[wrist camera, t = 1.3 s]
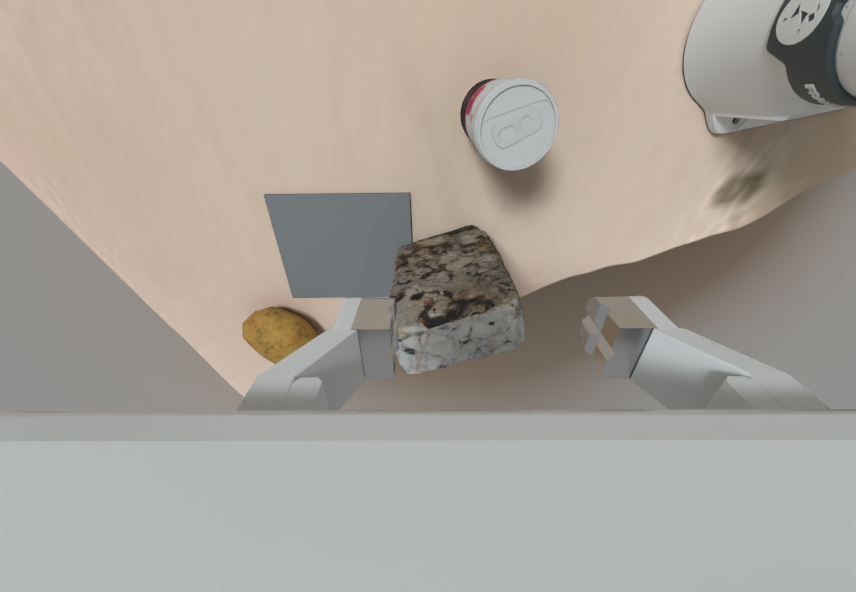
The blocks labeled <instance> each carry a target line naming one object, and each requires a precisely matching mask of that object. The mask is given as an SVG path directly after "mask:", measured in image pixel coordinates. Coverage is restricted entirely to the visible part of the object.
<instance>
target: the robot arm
mask: <svg viewBox="0 0 856 592" xmlns="http://www.w3.org/2000/svg"><path fill="white" fill-rule="evenodd" d="M684 76H685V81H686V85H687V87H688V90H689V92H690V93H691V95H692V97H693V98H694V99H695V100H696V101H697V102H698V103H699V104H700V105H701V107H702V108H703V109H704V111H705V115H706V120H707V125H708V128H709V130H710V131H711V132H712V133H714V134H724V133H729V132H734V131H739V130H743V129H748V128H753V127H758V126H762V125H767V124H772V123H777V122H782V121H786V120H791V119H796V118H801V117H805V116H810V115H815V114H820V113H824V112H829V111H834V110H839V109H843V108H848V107H856V0H704V2H703V4H702V5H701V7H700V9H699V11H698V13H697V15H696V17H695V19H694V22H693V24H692V27H691V29H690V32H689V36H688V39H687V43H686V47H685V54H684ZM734 118H736V119H735V121H734V122H733V123H732V121H733V119H734ZM585 310H586V312H587V313H588V316H586V317H585V318H584V319H583V320H582V321H581V324H580V328H579V339H580V343H581V345H582V347H583V349H584V351H586V352H587V353H589V354H591V355H592V359H591V363H592V365H593V366H594V368H595V370H596V372H597V373H598V375H599V377H600V378H628V379H630V380H631V381H632V382H633V383H635V384H636V385H637V386H639V387H640V388H641V389H643V390H644V391H645V392H646V393H648V394H649V395H650V396H652V397H653V398H654V399H656V400H657V401H658V402H660V403H661V404H662V405H663V406H665V407H666V408H668V409H666V410H339V409H340V408H341V407H342V406H343V405H344V404H345V403H346V402H347V400H348V399H349V398H350V397H351V396H352V395H353V394H354V393H355V392H356V390H357V389H358V388H359V387H360V386H361V385H362V384H363V383H364V381H365V379H393V378H394V375H395V367H396V352H397V350H398V321H397V320H396V314H397V304H396V298H364V297H363V298H362V297H350V298H345V299H344V301H343V303H342V306H341V308H340V311H339V313H338V316H337V318H336V321H335V323H334V326H333V328H332V330H326V331H325V332H323V333H322V334H320V335H319V336H317V337H316V338H314V339H313V340H311V341H310V342H308V343H307V344H305V345H304V346H302V347H301V348H299V349H298V350H296V351H295V352H293V353H292V354H290V355H289V356H287V357H286V358H284V359H282V360H281V361H279V362H278V363H276V364H275V365H273V366H272V367H270V368H269V369H267V370H266V371H264V372H263V373H261V374H260V375H258V376H257V377H256V379H255V381H254V382H253V384H252V386H251V388H250V389H249V391H248V393H247V394H246V396H245V398H244V399H243V401H242V403H241V404H240V406H239V408H238V410H237V411H13V410H12V411H10V410H9V411H8V410H5V411H4V410H1V411H0V592H856V409H830V408H829V407H828V406H827V405H826V404H824V403H823V402H822V401H821V400H819V399H818V398H817V397H816V396H814V395H813V394H812V393H811V392H810V391H808V390H807V389H806V388H805V387H803V386H802V385H801V384H800V383H799V382H797V381H796V380H795V379H793V378H792V377H791V376H790V375H788V374H786V373H784V372H781V371H779V370H777V369H775V368H772V367H770V366H768V365H765V364H763V363H761V362H759V361H756V360H754V359H752V358H750V357H747V356H745V355H743V354H741V353H738V352H736V351H734V350H732V349H729V348H727V347H725V346H722V345H720V344H718V343H716V342H713V341H711V340H709V339H707V338H704V337H702V336H700V335H698V334H695V333H693V332H691V331H689V330H686V329H679V328H677V327H676V326H675V325H674V324H673V323H672V322H671V321H670V320H669V319H668V318H667V317H666V316H665V315H664V314H663V313H662V312H661V311H660V310H659V309H658V308H657V307H656V306H655V305H654V304H653V303H652V302H651V301H650V300H649V299H648V298H647V297H644V296H625V297H595V298H594V297H592V298H590V299H589V300H588V302H587V304H586V308H585Z"/></svg>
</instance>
